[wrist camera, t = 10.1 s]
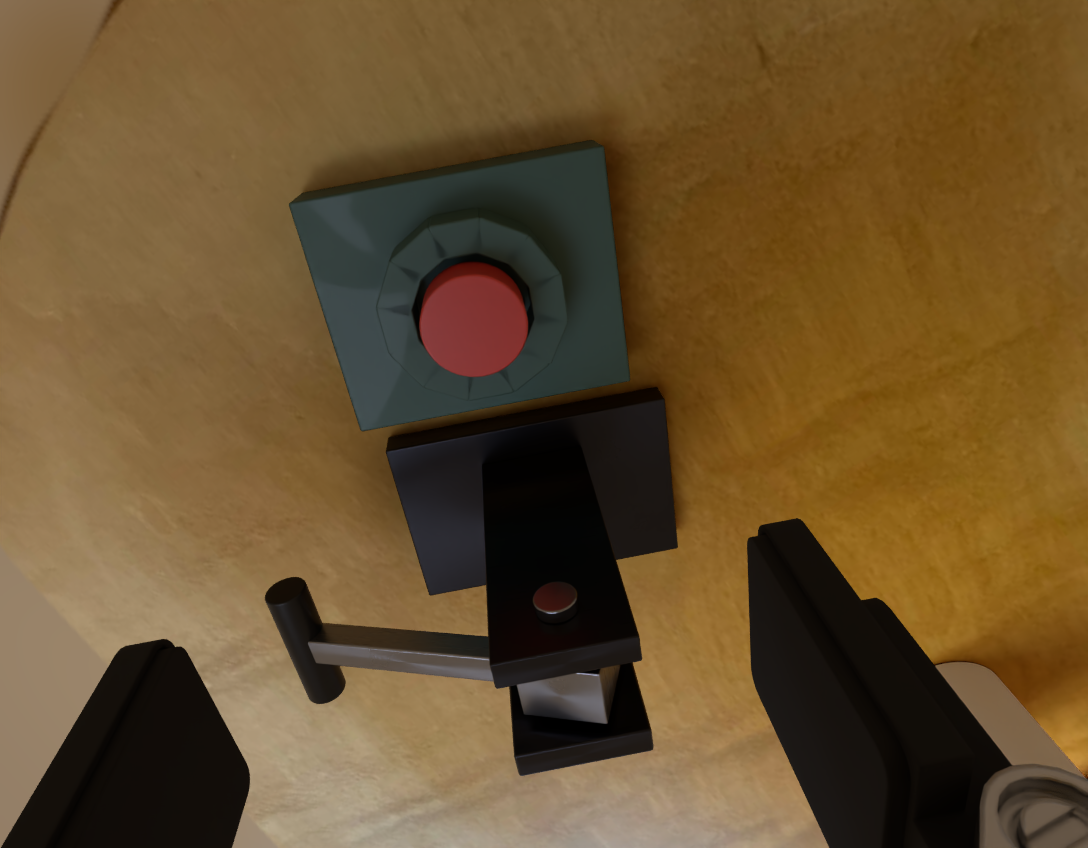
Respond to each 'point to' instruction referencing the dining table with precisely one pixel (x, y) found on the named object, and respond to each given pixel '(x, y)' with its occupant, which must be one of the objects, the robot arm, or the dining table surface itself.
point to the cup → (1004, 716)
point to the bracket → (547, 549)
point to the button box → (468, 236)
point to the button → (473, 319)
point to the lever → (417, 658)
